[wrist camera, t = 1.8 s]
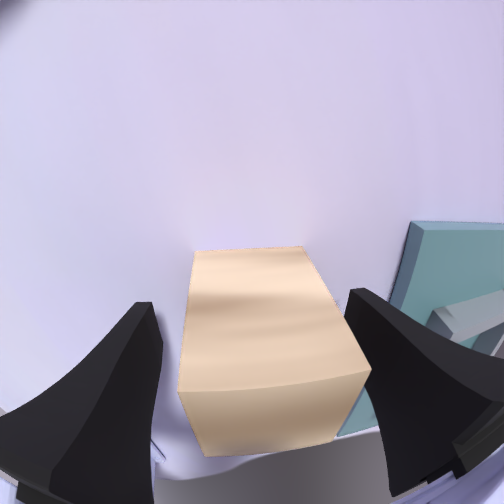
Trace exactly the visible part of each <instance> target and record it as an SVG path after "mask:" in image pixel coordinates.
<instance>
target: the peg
mask: <svg viewBox="0 0 504 504" xmlns="http://www.w3.org/2000/svg"><path fill="white" fill-rule="evenodd" d="M371 370H372V369H371V367H370V365H369V363H368V361H367V359H366V357H365V355H364V354H363V352H362V350H361V348H360V346H359V344H358V342H357V341H356V339H355V337H354V335H353V333H352V331H351V330H350V328H349V326H348V324H347V322H346V321H345V319H344V317H343V315H342V313H341V312H340V310H339V308H338V306H337V305H336V303H335V301H334V299H333V298H332V296H331V294H330V292H329V291H328V289H327V287H326V285H325V284H324V282H323V280H322V279H321V277H320V275H319V274H318V272H317V270H316V268H315V267H314V265H313V263H312V262H311V260H310V258H309V257H308V255H307V254H306V252H305V250H304V249H303V247H302V246H294V247H272V248H251V249H230V250H210V251H195V255H194V261H193V267H192V273H191V280H190V286H189V293H188V300H187V308H186V315H185V323H184V331H183V339H182V348H181V357H180V367H179V377H178V389H177V392H178V395H179V398H180V400H181V403H182V405H183V408H184V410H185V413H186V415H187V418H188V420H189V423H190V425H191V427H192V430H193V432H194V434H195V437H196V439H197V441H198V443H199V445H200V448H201V450H202V452H203V454H204V456H205V457H221V456H241V455H254V454H264V453H272V452H280V451H287V450H293V449H299V448H304V447H309V446H314V445H319V444H324V443H328V442H332V440H333V439H334V437H335V436H336V434H337V432H338V431H339V429H340V427H341V426H342V424H343V422H344V421H345V419H346V417H347V416H348V414H349V412H350V410H351V408H352V407H353V405H354V403H355V401H356V399H357V398H358V396H359V394H360V392H361V390H362V388H363V386H364V384H365V382H366V380H367V378H368V376H369V374H370V372H371Z"/></svg>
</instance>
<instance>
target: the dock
mask: <svg viewBox="0 0 504 504" xmlns="http://www.w3.org/2000/svg"><path fill="white" fill-rule="evenodd" d="M389 303H390V304H391V305H393V306H394V307H396V308H397V309H399V310H400V311H402V312H403V313H405V314H406V315H408V316H409V317H411V318H412V319H414V320H415V321H417V322H419V323H420V324H422V325H424V326H425V327H427V328H429V329H430V330H432V331H434V332H436V333H437V334H439V335H441V336H443V337H445V338H447V339H449V340H451V341H453V342H455V343H458V344H460V345H462V346H465V347H467V348H470V349H472V350H475V351H478V352H481V353H484V354H487V355H490V356H494V355H495V353H496V351H497V350H498V348H499V347H500V345H501V343H502V342H503V340H504V224H501V223H477V222H441V221H411V224H410V229H409V233H408V238H407V242H406V246H405V250H404V254H403V258H402V262H401V266H400V269H399V273H398V276H397V280H396V283H395V286H394V290H393V293H392V296H391V299H390V302H389ZM377 425H378V422H377V418H376V415H375V412H374V409H373V405H372V403H371V400H370V398H369V395H368V393H367V391H366V389H365V387H364V386H363V388H362V390H361V392H360V394H359V396H358V398H357V399H356V401H355V403H354V405H353V407H352V408H351V410H350V412H349V414H348V416H347V417H346V419H345V421H344V422H343V424H342V426H341V427H340V429H339V431H338V432H337V434H336V435H337V437H340V436H344V435H347V434H351V433H355V432H358V431H361V430H365V429H368V428H371V427H374V426H377Z"/></svg>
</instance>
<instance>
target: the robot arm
mask: <svg viewBox="0 0 504 504" xmlns="http://www.w3.org/2000/svg"><path fill="white" fill-rule="evenodd" d="M344 319H345V321H346V322H347V324H348V326H349V328H350V330H351V331H352V333H353V335H354V337H355V339H356V341H357V342H358V344H359V346H360V348H361V350H362V352H363V354H364V355H365V357H366V359H367V361H368V363H369V365H370V367H371V369H372V370H371V372H370V374H369V376H368V378H367V380H366V382H365V384H364V387H365V389H366V391H367V393H368V395H369V398H370V400H371V403H372V405H373V409H374V412H375V415H376V418H377V422H378V425H379V429H380V433H381V437H382V441H383V445H384V451H385V455H386V461H387V468H388V477H389V490H390V492H391V495H392V497H395V496H398V495H400V494H402V493H404V492H406V491H408V490H410V489H412V488H414V487H416V486H418V485H420V484H422V483H424V482H426V481H427V483H428V485H427V486H425V487H423V488H421V489H419V490H417V491H415V492H414V493H412V494H410V495H407V496H405V497H403V498H401V499H399V500H397V501H395V502H392V503H390V504H504V359H501V358H497V357H494V356H490V355H487V354H484V353H481V352H478V351H475V350H472V349H470V348H467V347H465V346H462V345H460V344H458V343H455V342H453V341H451V340H449V339H447V338H445V337H443V336H441V335H439V334H437V333H436V332H434V331H432V330H430V329H429V328H427V327H425V326H424V325H422V324H420V323H419V322H417V321H415V320H414V319H412V318H411V317H409V316H408V315H406V314H405V313H403V312H402V311H400V310H399V309H397V308H396V307H394V306H393V305H391V304H390V303H388V302H387V301H385V300H384V299H382V298H381V297H379V296H378V295H376V294H374V293H373V292H371V291H369V290H368V289H366V288H357V289H350V293H349V298H348V302H347V306H346V310H345V314H344ZM162 352H163V341H162V338H161V334H160V331H159V327H158V324H157V320H156V316H155V312H154V309H153V305H152V302H136V303H135V304H134V305H133V306H132V307H131V308H130V309H129V310H128V311H127V313H126V314H125V315H124V316H123V317H122V318H121V319H120V320H119V322H118V323H117V324H116V325H115V326H114V327H113V328H112V329H111V331H110V332H109V333H108V334H107V335H106V336H105V337H104V338H103V339H102V341H101V342H100V343H99V344H98V345H97V346H96V347H95V348H94V349H93V350H92V351H91V352H90V353H89V354H88V355H87V356H86V357H85V358H84V359H83V360H82V361H81V362H80V363H79V364H78V365H77V366H75V367H74V368H73V369H72V370H71V371H70V372H69V373H67V374H66V375H65V376H64V377H63V378H61V379H60V380H59V381H58V382H56V383H55V384H54V385H52V386H51V387H50V388H48V389H47V390H45V391H44V392H43V393H41V394H40V395H39V396H37V397H35V398H34V399H32V400H31V401H29V402H27V403H26V404H24V405H22V406H21V407H19V408H17V409H15V410H13V411H11V412H9V413H7V414H5V415H3V416H1V417H0V470H2V471H3V472H5V473H6V474H8V475H9V476H11V477H13V478H14V479H16V480H18V481H19V482H18V487H17V486H15V485H13V484H12V483H10V482H8V481H7V480H5V479H3V478H2V477H0V504H154V478H155V462H160V463H164V462H165V458H164V457H163V455H162V454H161V453H160V452H159V451H158V449H157V448H156V447H155V446H154V444H153V443H152V442H151V424H152V416H153V410H154V404H155V398H156V393H157V388H158V382H159V377H160V372H161V365H162Z"/></svg>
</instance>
